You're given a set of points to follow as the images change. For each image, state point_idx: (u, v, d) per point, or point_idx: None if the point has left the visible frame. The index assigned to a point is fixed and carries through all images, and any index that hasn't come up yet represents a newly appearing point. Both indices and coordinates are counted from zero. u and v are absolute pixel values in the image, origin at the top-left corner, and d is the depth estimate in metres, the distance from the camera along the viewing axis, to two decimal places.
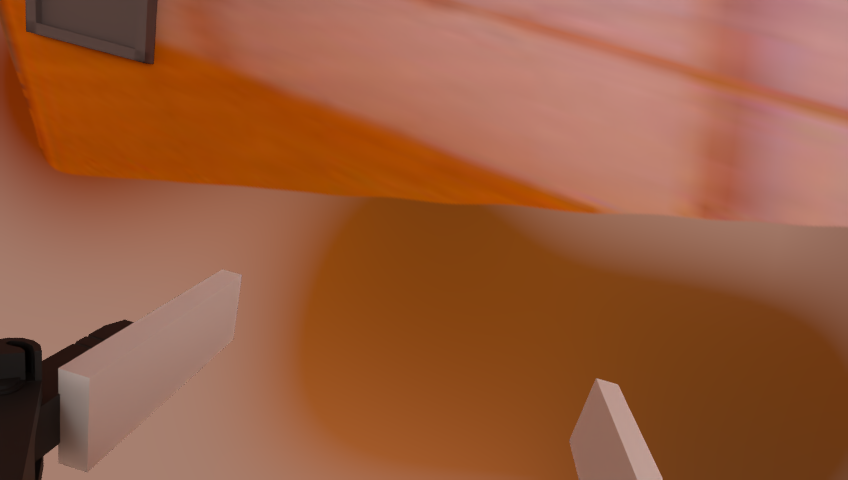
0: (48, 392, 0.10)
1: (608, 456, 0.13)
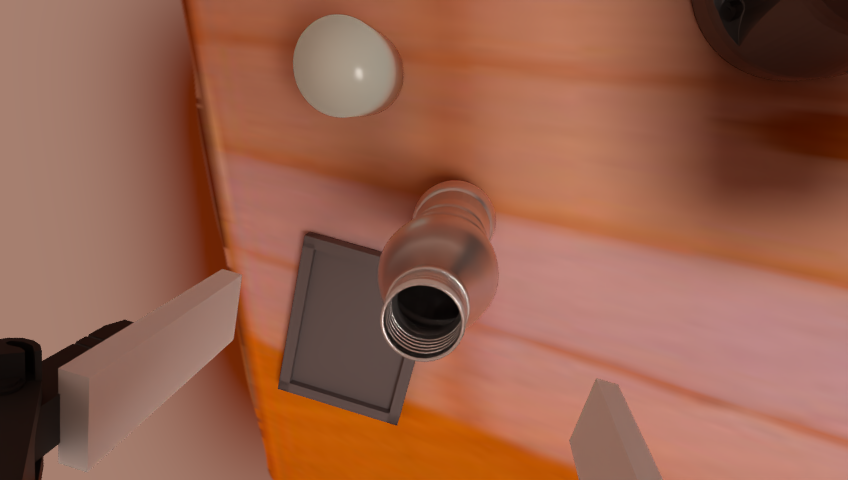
0: (48, 392, 0.10)
1: (608, 456, 0.13)
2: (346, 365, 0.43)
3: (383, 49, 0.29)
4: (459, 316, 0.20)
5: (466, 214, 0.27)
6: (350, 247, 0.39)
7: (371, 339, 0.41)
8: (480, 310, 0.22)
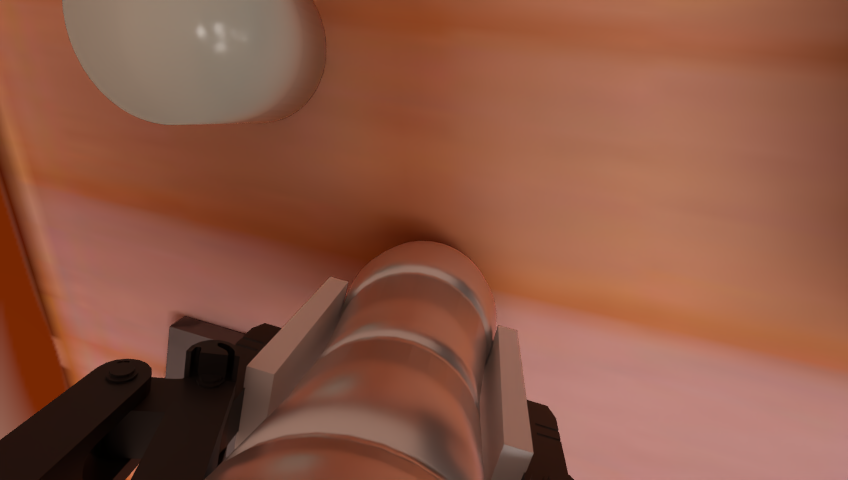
0: (235, 386, 0.12)
1: (493, 384, 0.15)
2: None
3: None
4: None
5: (424, 377, 0.11)
6: None
7: None
8: None
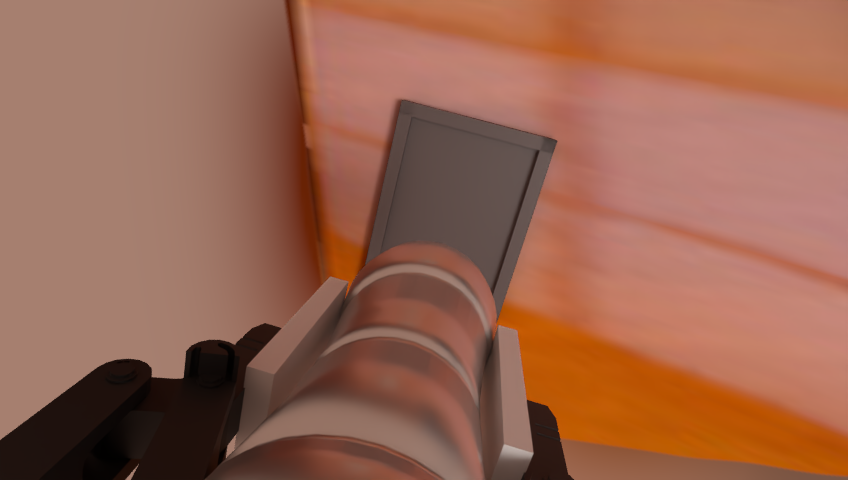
0: (235, 386, 0.12)
1: (493, 384, 0.15)
2: None
3: None
4: None
5: (424, 377, 0.11)
6: (454, 113, 0.34)
7: (470, 227, 0.37)
8: None
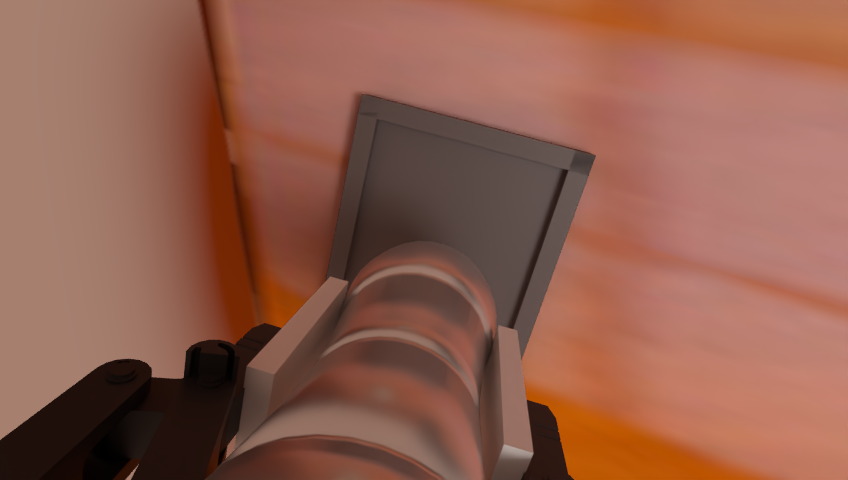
0: (235, 386, 0.12)
1: (493, 384, 0.15)
2: None
3: None
4: None
5: (424, 377, 0.11)
6: (440, 114, 0.23)
7: None
8: None
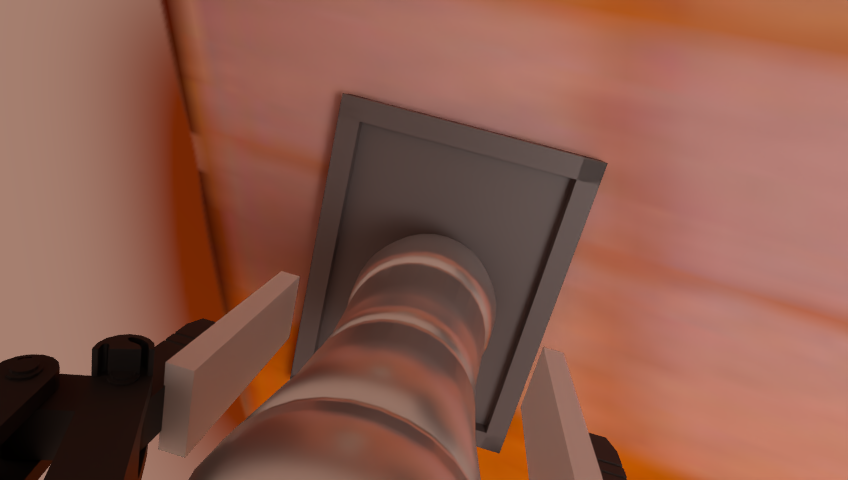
0: (155, 384, 0.11)
1: (545, 413, 0.14)
2: None
3: None
4: None
5: (422, 355, 0.12)
6: (431, 116, 0.20)
7: None
8: None
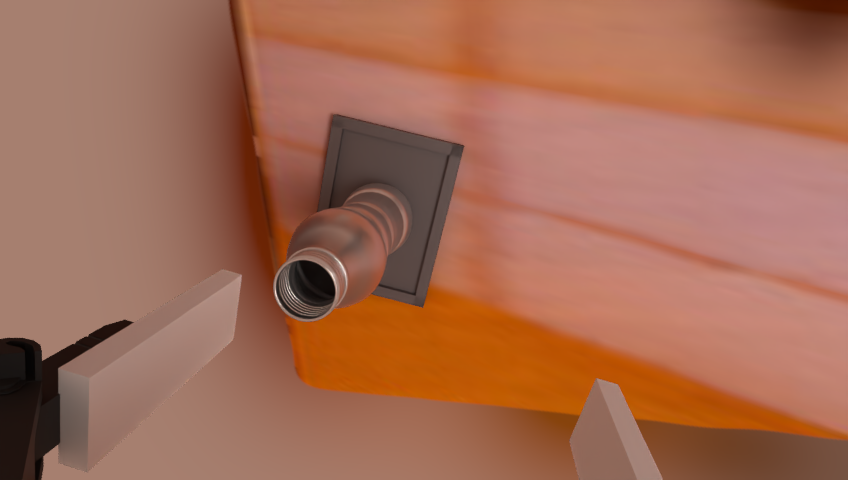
0: (48, 392, 0.10)
1: (608, 456, 0.13)
2: None
3: None
4: None
5: (368, 209, 0.32)
6: (378, 125, 0.41)
7: None
8: (367, 284, 0.28)
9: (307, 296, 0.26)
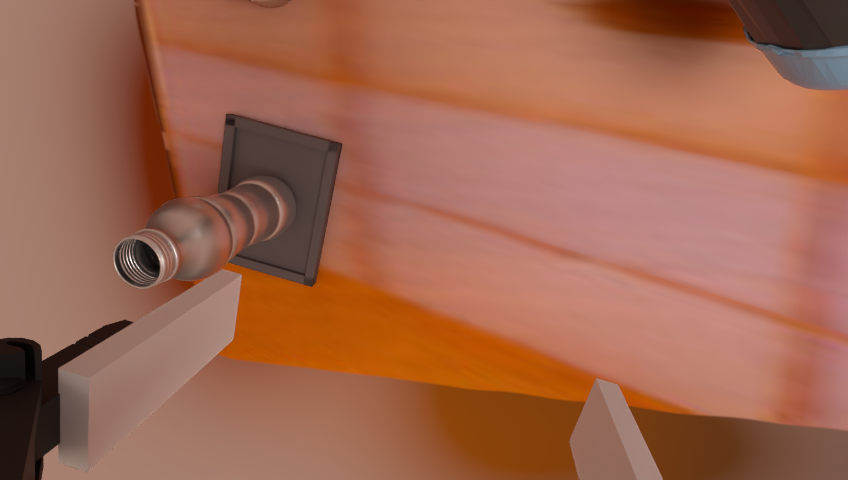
0: (48, 392, 0.10)
1: (608, 456, 0.13)
2: None
3: None
4: None
5: (228, 199, 0.38)
6: (265, 124, 0.46)
7: None
8: (207, 261, 0.33)
9: (152, 269, 0.32)
